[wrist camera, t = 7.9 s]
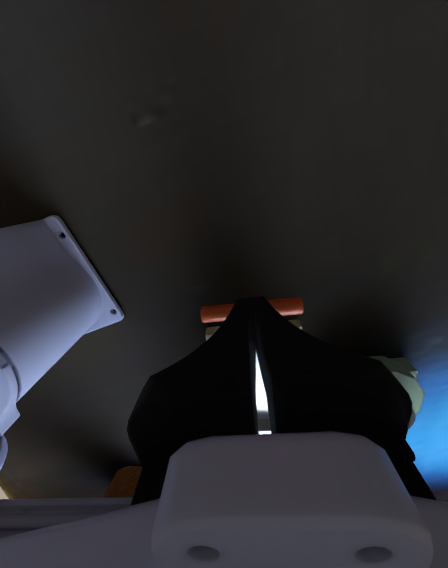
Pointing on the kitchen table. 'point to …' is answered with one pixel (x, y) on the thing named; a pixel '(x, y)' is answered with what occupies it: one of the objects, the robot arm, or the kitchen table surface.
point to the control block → (405, 378)
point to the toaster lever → (284, 308)
